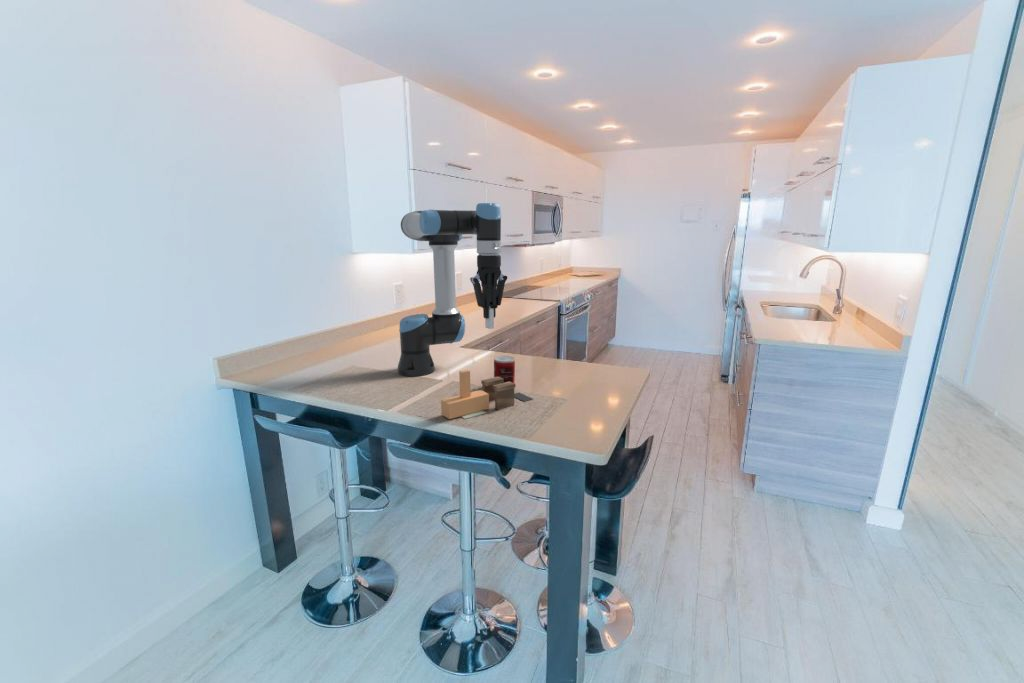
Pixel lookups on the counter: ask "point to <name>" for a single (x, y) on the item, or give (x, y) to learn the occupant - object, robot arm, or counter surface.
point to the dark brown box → (499, 391)
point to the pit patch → (522, 397)
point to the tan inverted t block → (464, 399)
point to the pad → (473, 414)
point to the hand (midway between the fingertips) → (489, 327)
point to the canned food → (505, 368)
